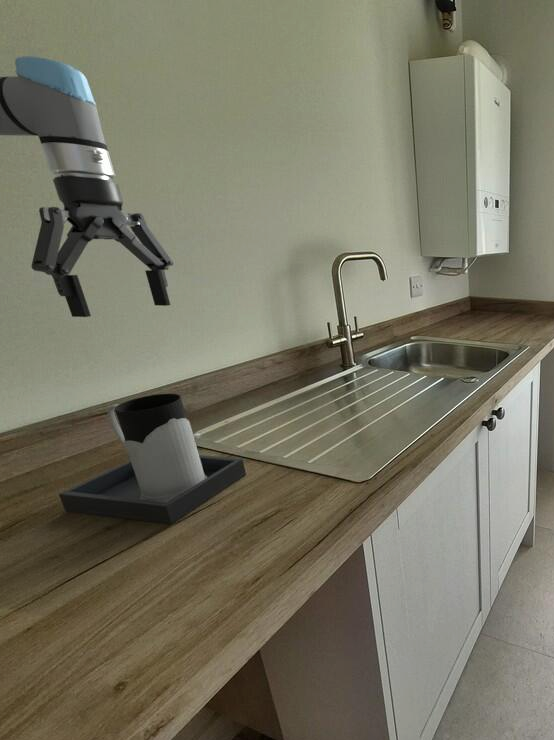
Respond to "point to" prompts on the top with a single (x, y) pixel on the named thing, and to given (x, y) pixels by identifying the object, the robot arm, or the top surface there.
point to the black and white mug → (158, 445)
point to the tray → (122, 500)
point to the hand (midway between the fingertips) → (125, 310)
